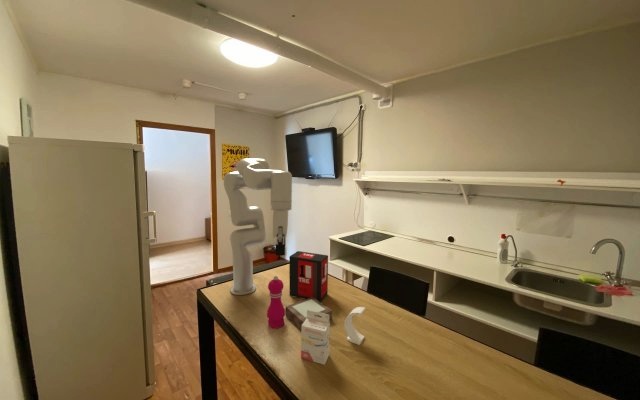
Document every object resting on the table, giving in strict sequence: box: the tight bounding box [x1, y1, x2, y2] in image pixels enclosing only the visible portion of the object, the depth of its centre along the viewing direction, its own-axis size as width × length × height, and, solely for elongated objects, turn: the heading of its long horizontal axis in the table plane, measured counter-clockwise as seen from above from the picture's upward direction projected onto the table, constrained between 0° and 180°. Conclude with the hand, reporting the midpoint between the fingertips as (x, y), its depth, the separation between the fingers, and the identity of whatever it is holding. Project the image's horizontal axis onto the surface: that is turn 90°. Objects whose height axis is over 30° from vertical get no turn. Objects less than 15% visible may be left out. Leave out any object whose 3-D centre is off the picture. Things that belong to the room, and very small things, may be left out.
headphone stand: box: [344, 306, 366, 346], centre depth 94 cm, size 5×6×12 cm
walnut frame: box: [285, 297, 333, 330], centre depth 107 cm, size 14×14×4 cm
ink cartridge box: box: [300, 310, 331, 366], centre depth 84 cm, size 9×5×15 cm, turn 71°
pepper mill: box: [266, 275, 286, 329], centre depth 102 cm, size 7×7×20 cm
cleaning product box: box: [288, 250, 329, 303], centre depth 126 cm, size 16×9×20 cm, turn 68°
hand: (280, 250), depth 96 cm, fingers open, 9 cm apart
